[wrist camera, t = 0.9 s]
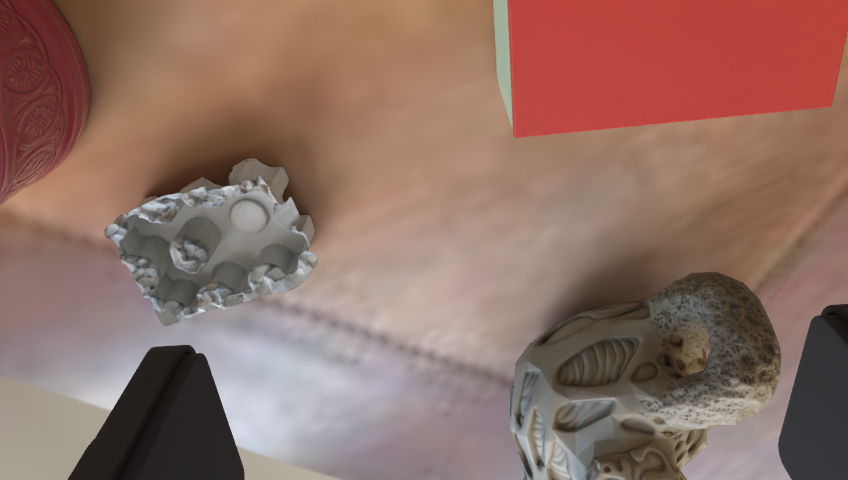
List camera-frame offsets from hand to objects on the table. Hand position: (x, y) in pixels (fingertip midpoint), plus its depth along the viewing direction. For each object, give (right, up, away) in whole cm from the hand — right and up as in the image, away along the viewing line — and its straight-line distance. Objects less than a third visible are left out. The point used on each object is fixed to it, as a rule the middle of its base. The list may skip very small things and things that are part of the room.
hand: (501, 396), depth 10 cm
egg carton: (-13, +3, +28) cm, 31 cm away
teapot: (+10, -4, +32) cm, 34 cm away
